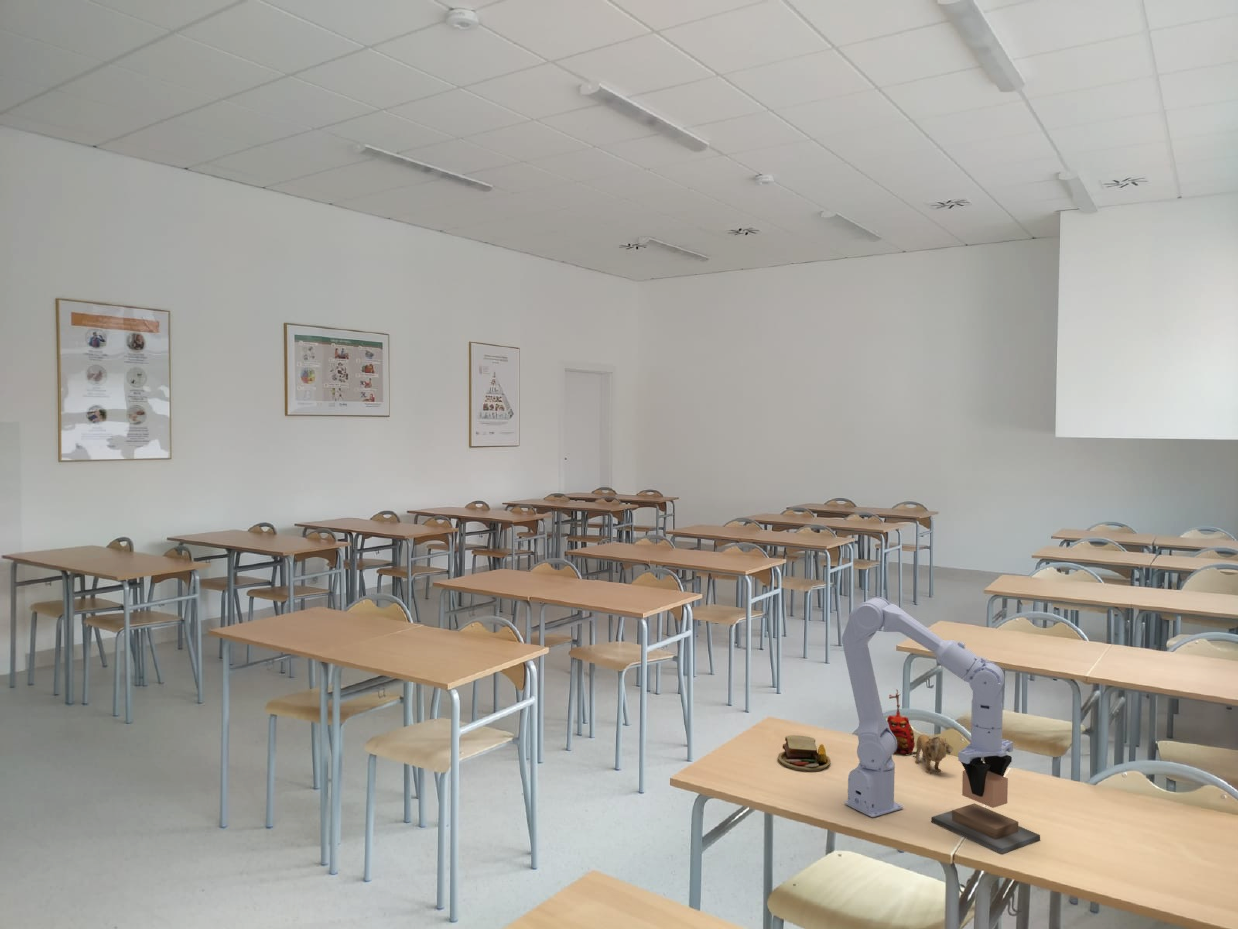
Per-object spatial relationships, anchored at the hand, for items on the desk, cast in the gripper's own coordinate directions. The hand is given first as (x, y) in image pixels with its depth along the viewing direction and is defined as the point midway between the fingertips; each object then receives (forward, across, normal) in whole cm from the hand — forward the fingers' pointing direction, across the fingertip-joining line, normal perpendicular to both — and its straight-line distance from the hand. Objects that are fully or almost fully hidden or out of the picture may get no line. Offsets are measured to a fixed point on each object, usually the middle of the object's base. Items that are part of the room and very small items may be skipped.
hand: (985, 792), depth 170 cm
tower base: (+8, 0, 0) cm, 8 cm away
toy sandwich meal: (+8, -6, +46) cm, 47 cm away
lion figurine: (+8, +19, +29) cm, 35 cm away
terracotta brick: (+2, 0, 0) cm, 2 cm away
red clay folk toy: (+8, +21, +40) cm, 46 cm away
